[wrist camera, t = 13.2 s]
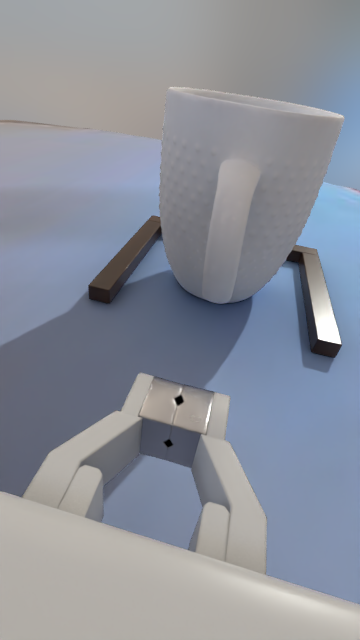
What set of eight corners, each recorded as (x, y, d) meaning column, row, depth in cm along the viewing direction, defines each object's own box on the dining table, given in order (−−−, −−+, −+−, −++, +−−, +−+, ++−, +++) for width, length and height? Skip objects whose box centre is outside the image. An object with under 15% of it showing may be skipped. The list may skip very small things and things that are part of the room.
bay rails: (88, 299, 24) (88, 285, 23) (151, 225, 36) (152, 215, 36) (335, 358, 22) (342, 344, 21) (312, 259, 34) (316, 249, 34)
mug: (289, 373, 20) (400, 134, 12) (117, 336, 21) (120, 89, 13) (275, 265, 32) (328, 108, 24) (166, 244, 33) (182, 84, 25)
